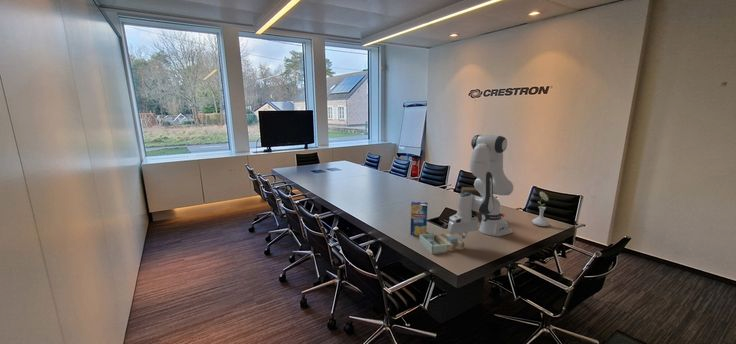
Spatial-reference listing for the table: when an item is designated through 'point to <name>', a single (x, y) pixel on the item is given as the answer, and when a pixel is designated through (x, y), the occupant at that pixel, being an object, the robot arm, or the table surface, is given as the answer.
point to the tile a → (430, 241)
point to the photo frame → (476, 193)
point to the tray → (432, 248)
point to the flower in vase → (541, 213)
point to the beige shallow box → (450, 246)
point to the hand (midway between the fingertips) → (462, 238)
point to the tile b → (452, 239)
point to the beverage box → (418, 218)
